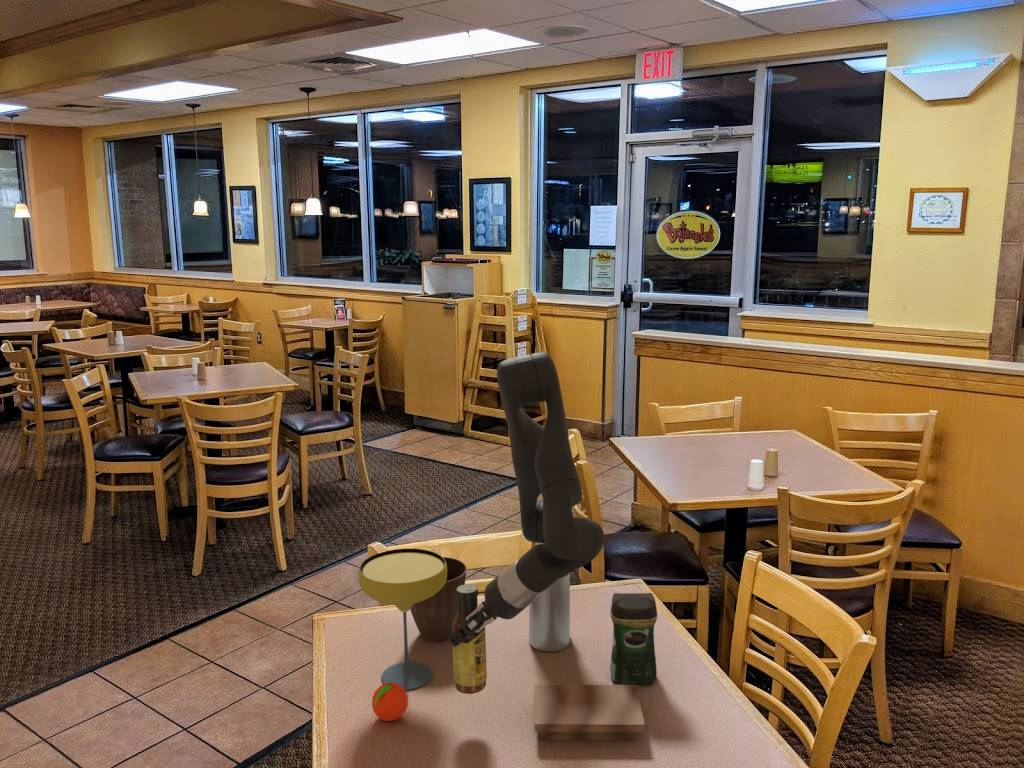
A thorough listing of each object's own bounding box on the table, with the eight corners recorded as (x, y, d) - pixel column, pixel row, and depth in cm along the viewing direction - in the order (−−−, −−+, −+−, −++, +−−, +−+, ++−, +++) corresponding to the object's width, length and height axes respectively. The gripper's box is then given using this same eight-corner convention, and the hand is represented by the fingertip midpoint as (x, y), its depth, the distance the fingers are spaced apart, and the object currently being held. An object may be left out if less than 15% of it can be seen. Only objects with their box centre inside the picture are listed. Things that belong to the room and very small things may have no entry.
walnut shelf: (534, 743, 148) (534, 724, 147) (534, 702, 160) (534, 684, 160) (644, 744, 147) (644, 724, 146) (635, 703, 160) (635, 684, 159)
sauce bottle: (482, 697, 150) (479, 598, 146) (450, 694, 151) (445, 596, 147) (490, 677, 156) (487, 582, 152) (459, 675, 157) (455, 580, 153)
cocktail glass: (379, 710, 159) (374, 591, 154) (352, 667, 174) (347, 558, 170) (463, 685, 167) (461, 572, 162) (431, 646, 182) (427, 542, 178)
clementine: (389, 736, 150) (387, 701, 149) (361, 724, 154) (359, 690, 153) (416, 714, 157) (414, 681, 156) (388, 703, 161) (387, 671, 159)
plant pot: (407, 653, 179) (404, 586, 176) (400, 622, 194) (398, 560, 191) (473, 645, 183) (472, 579, 180) (461, 615, 197) (460, 553, 194)
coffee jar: (653, 667, 173) (655, 586, 169) (658, 688, 165) (661, 603, 162) (607, 667, 173) (608, 586, 170) (611, 688, 165) (612, 603, 162)
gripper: (521, 556, 151) (469, 602, 159) (481, 587, 139) (427, 635, 147) (546, 588, 150) (493, 633, 158) (509, 622, 137) (452, 669, 146)
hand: (461, 633), depth 152 cm, fingers closed on sauce bottle, 6 cm apart
